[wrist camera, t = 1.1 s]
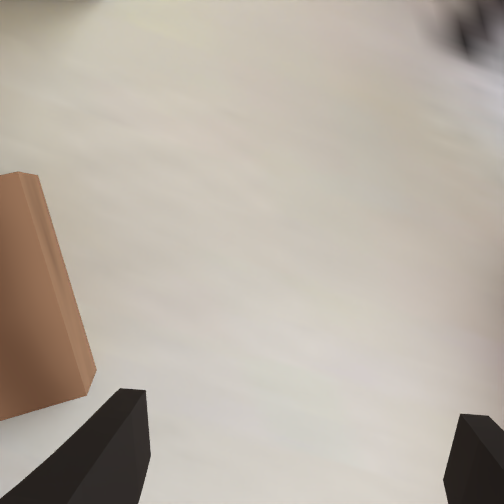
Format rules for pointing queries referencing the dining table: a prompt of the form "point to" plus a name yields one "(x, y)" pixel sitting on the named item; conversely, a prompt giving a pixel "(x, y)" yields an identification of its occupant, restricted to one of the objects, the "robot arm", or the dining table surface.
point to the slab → (36, 307)
